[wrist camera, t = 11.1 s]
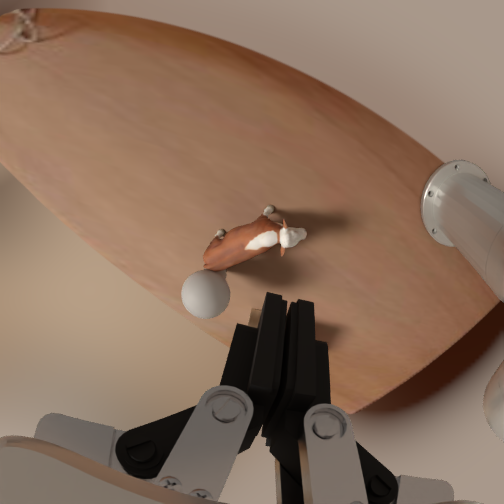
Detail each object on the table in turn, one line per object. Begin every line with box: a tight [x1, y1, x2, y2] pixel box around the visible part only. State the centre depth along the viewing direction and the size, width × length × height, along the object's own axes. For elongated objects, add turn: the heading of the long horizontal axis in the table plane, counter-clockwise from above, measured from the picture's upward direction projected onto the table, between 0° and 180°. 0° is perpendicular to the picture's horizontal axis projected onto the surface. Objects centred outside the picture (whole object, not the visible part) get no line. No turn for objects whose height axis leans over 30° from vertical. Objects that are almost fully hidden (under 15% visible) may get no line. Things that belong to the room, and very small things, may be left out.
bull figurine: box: [203, 205, 307, 272], centre depth 37 cm, size 4×13×8 cm, turn 115°
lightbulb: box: [182, 268, 230, 319], centre depth 39 cm, size 6×6×11 cm
